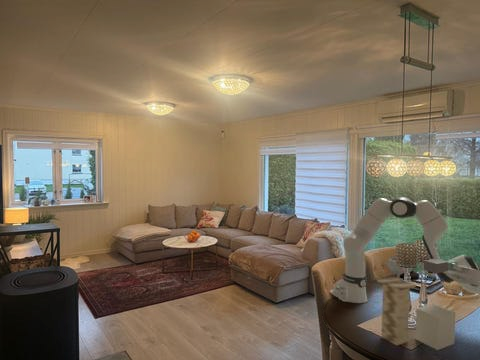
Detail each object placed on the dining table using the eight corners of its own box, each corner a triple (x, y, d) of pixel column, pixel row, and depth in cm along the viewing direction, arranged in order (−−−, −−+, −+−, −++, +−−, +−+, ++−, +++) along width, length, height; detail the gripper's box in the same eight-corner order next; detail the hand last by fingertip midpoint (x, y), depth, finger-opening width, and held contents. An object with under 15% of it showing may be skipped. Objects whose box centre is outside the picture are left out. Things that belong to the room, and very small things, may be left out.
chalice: (390, 276, 236) (390, 255, 236) (411, 281, 227) (412, 259, 227) (384, 281, 225) (385, 259, 225) (406, 286, 217) (407, 263, 216)
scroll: (414, 281, 227) (415, 252, 226) (392, 275, 238) (393, 248, 238) (422, 277, 236) (423, 249, 236) (402, 272, 248) (403, 245, 247)
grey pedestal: (415, 339, 148) (416, 308, 147) (431, 333, 153) (433, 303, 153) (437, 350, 139) (438, 317, 138) (454, 343, 144) (455, 312, 144)
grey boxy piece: (423, 269, 146) (423, 260, 145) (447, 264, 154) (447, 256, 154) (436, 273, 140) (437, 263, 140) (461, 268, 149) (461, 259, 148)
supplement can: (431, 274, 244) (432, 254, 243) (438, 277, 235) (439, 257, 235) (420, 274, 243) (421, 254, 243) (427, 277, 235) (428, 257, 235)
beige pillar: (375, 335, 150) (377, 279, 149) (390, 331, 155) (392, 276, 154) (398, 348, 139) (400, 288, 139) (413, 343, 144) (416, 284, 143)
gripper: (442, 263, 165) (428, 252, 159) (489, 275, 146) (474, 263, 141) (438, 275, 163) (424, 264, 157) (484, 288, 145) (470, 276, 139)
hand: (448, 263), depth 149 cm, fingers closed on grey boxy piece, 3 cm apart
